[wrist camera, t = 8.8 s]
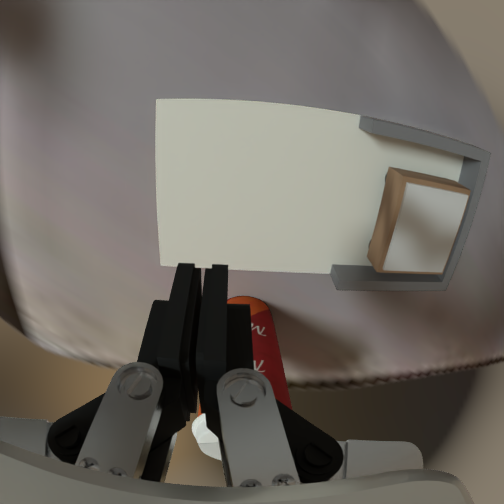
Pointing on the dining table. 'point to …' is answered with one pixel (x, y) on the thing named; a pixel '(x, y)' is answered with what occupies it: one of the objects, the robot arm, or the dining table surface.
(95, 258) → the dining table surface
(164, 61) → the dining table surface
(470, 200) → the dock bay
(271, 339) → the paper cup
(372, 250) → the white wood-edged tile
